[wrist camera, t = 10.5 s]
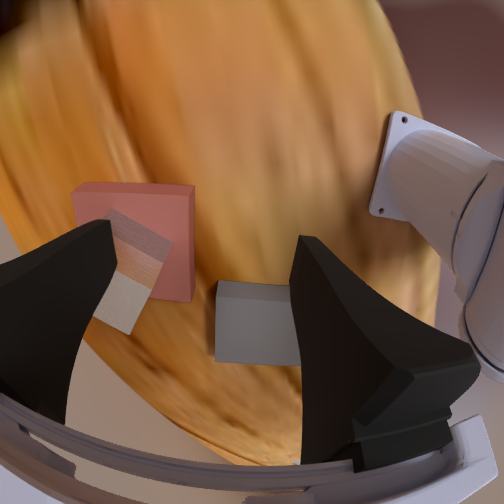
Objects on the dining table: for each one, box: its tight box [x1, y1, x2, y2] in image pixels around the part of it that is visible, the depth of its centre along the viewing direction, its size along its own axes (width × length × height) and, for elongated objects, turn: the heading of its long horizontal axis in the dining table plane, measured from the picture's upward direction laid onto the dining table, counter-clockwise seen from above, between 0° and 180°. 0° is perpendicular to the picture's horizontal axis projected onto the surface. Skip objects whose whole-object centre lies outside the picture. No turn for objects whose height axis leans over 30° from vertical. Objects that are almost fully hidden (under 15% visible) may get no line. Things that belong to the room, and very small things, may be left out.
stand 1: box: [71, 182, 195, 303], centre depth 20 cm, size 9×9×2 cm
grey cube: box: [93, 208, 173, 335], centre depth 17 cm, size 5×5×5 cm
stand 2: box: [215, 280, 301, 366], centre depth 24 cm, size 9×9×2 cm
